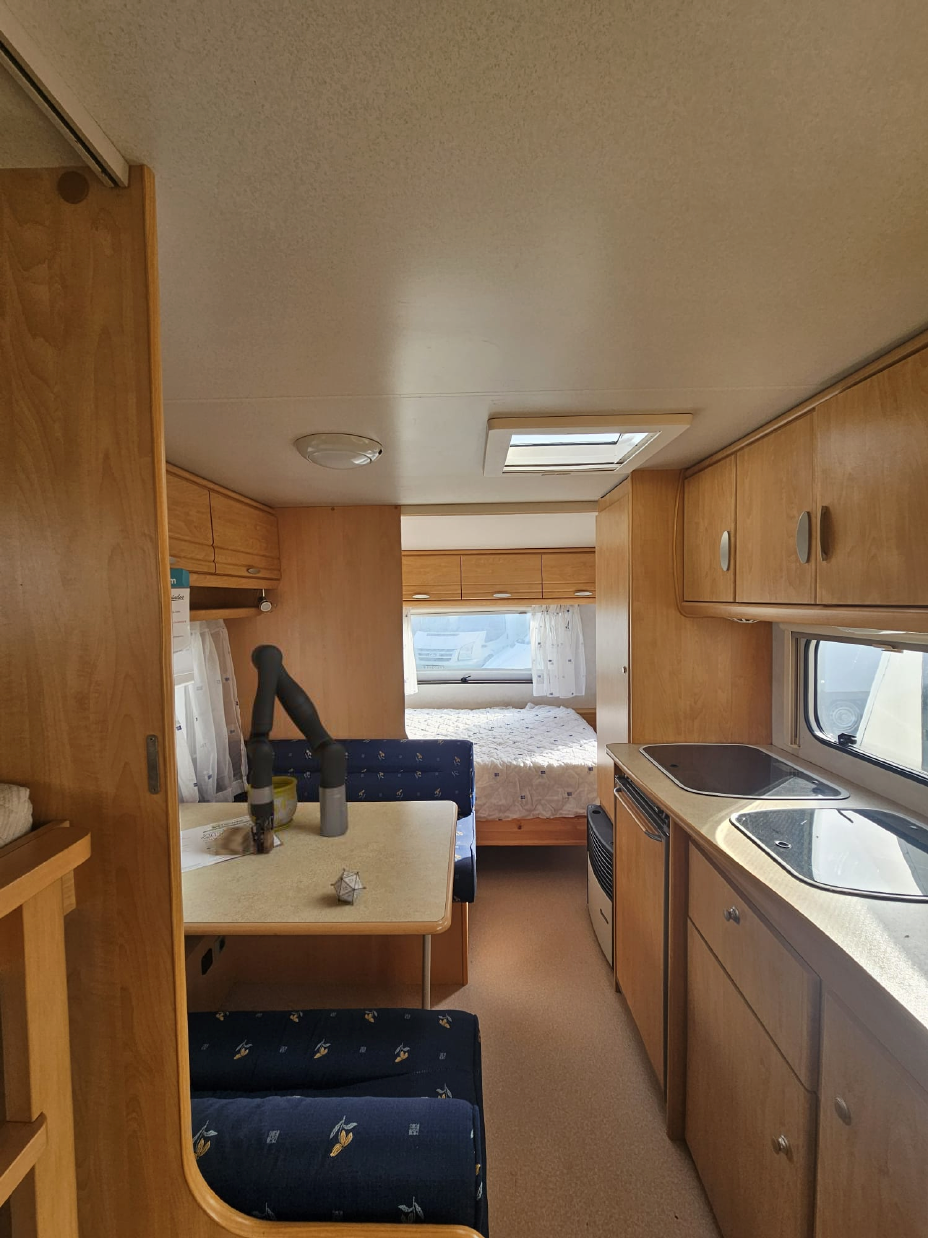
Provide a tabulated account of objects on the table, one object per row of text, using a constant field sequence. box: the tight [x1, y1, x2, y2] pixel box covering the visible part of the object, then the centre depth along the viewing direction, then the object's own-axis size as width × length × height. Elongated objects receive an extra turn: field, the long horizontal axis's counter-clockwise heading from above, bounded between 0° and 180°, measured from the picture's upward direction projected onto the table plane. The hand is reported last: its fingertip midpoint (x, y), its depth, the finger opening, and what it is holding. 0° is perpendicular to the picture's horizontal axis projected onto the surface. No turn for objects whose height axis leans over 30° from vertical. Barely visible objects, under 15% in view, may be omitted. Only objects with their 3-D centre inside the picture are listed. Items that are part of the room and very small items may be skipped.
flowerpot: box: [246, 775, 298, 833], centre depth 198 cm, size 18×18×16 cm
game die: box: [329, 867, 367, 906], centre depth 143 cm, size 9×8×10 cm
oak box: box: [214, 826, 253, 857], centre depth 179 cm, size 9×9×6 cm
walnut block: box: [252, 830, 275, 855], centre depth 177 cm, size 5×5×6 cm
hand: (263, 849), depth 177 cm, fingers closed on walnut block, 5 cm apart
